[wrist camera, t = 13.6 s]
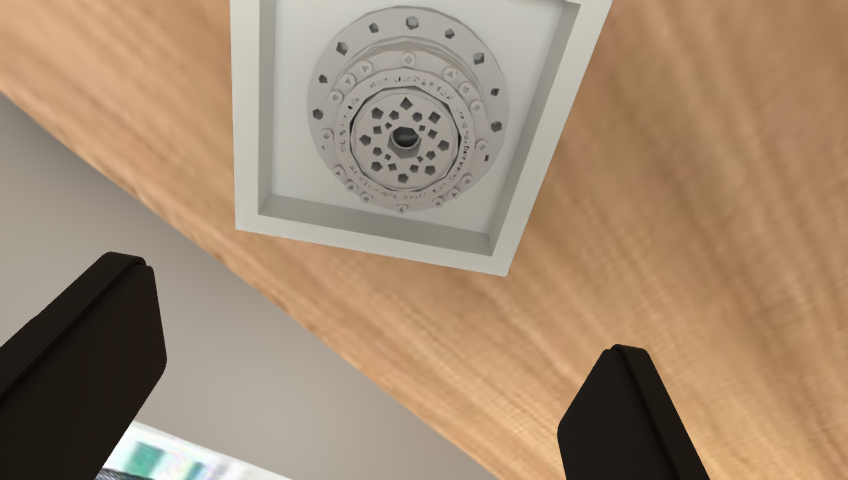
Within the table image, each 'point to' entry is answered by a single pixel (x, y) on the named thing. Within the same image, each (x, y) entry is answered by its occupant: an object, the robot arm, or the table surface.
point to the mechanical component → (407, 108)
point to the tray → (326, 195)
